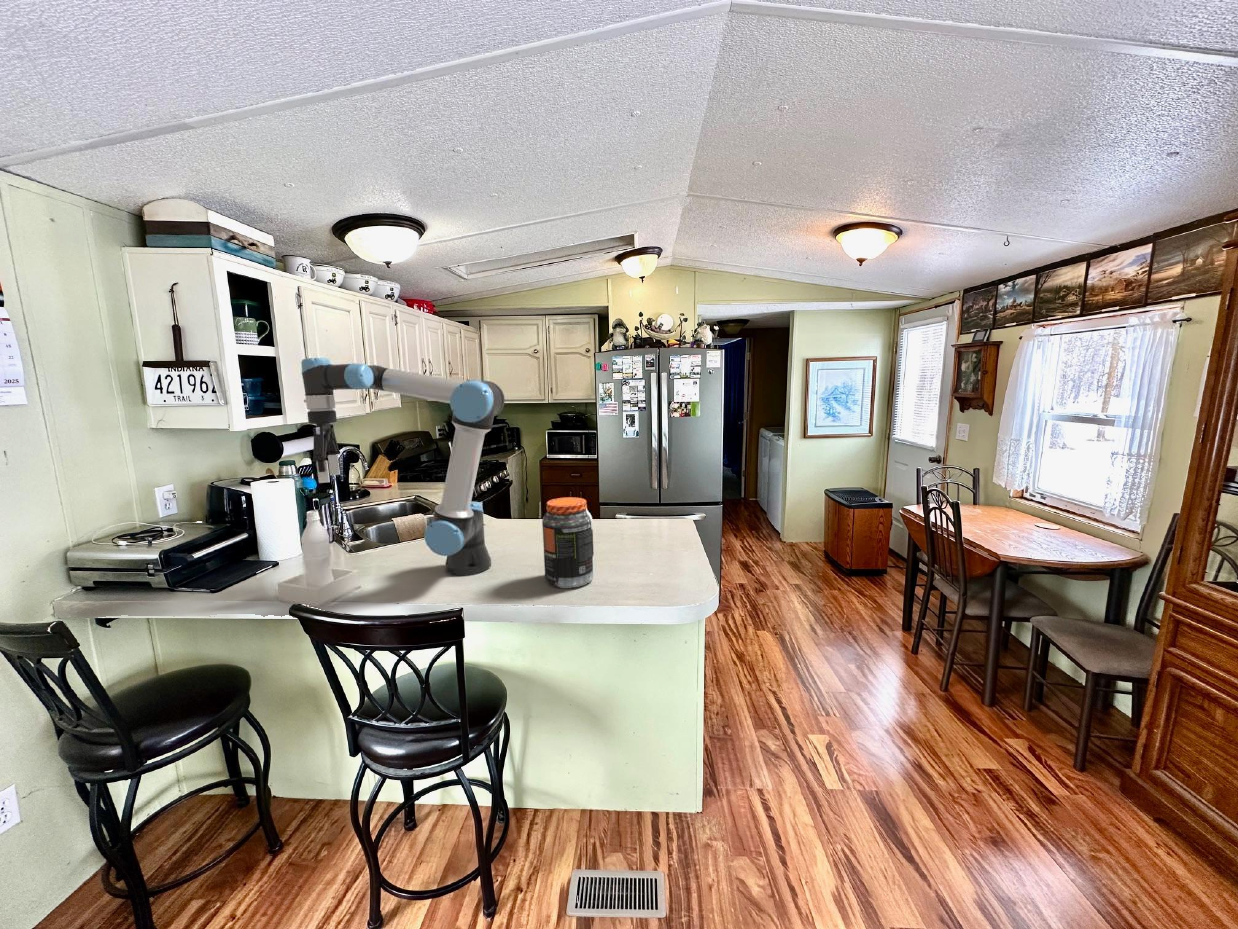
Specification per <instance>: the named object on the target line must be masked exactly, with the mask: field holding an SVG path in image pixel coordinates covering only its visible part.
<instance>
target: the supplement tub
mask: <svg viewBox="0 0 1238 929" xmlns="http://www.w3.org/2000/svg"><path fill="white" fill-rule="evenodd" d="M545 508H546V512H545V514H544V515H543V517H542V521H541V524H542V525H541V526H542V542H543V543H542V544H543V559H544V560H543V561H544V578H545V581H546V582H547V584H548V585H550V584H551V585H550V586H552V587H555V586H556V587H555V588H559V587H560V589H572V587H573V588H577V587H582V586H585V585H587V583H588V584H590V583H591V582H592V581H593V580H594V577H595V558H594V555H595V554H594V553H595V552H594V528H593V527H594V526H593V524H594V523H593V516H592V514H591V512H589V510H588V504H587V500H586V499H585V498H582V497H573V496H572V497H571V496H570V497H569V496H568V497H566V496H565V497H559V498H557V497H556V498H553V499H550V500H548V501H547V502H546V507H545Z"/></svg>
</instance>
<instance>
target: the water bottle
mask: <svg viewBox="0 0 1238 929" xmlns="http://www.w3.org/2000/svg"><path fill="white" fill-rule="evenodd" d="M320 519H321V517H320V514H319V511H318V510H309V511H307V512H306V519H305V521H306V525H305V526H306V527H305V528H304V531H303V532H302V535H301V537H300V538H301V540H300V542H301V548H302V555H303V558H302V559H303V560H304V563H305V570H306V572H307V578H306V586H307V587H314V588H317V587H320V586H322V585H324V584H327V583H329V582H331V581H333V580H334V578H333V575H332V572H331V567H332V566H331V548H330V547H331V546H330V536H329V532H328V531H327V529H326V528H325V527H324V526H323V525H322V523H321V520H320Z"/></svg>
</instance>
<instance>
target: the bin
mask: <svg viewBox="0 0 1238 929" xmlns="http://www.w3.org/2000/svg"><path fill="white" fill-rule="evenodd" d="M331 572H332V575H333V578H334V580H333V581H331V582H329V583H327V584H324V585H322V586H320V587H317V588H314V587H307V586H306V578H307V571H306V572H303V573H301V574H298V575H295V576H292V577H291V578H288V579H286V580H283V581H281V582H278V583H277V590H278V598H279V602H280V603H281V602H283V603H288V604H293V605H298V604H305V605H309V606H308V607H310V606H313V607H312V608H316V607H317V609H319V608H321V607H323V606H325V605H327V604H329V603H332V602H334V601H335V600H338V599H339V598H341V597H344V596H347V595H349V594H350V593H352V592H354V591H357V590H359V589H360V588H361V579H360V571H359V570H356V569H349V568H340V567H335V566H334V567H333V566H331Z"/></svg>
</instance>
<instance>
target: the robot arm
mask: <svg viewBox="0 0 1238 929" xmlns="http://www.w3.org/2000/svg"><path fill="white" fill-rule="evenodd" d="M301 377H302V381H303V382H302V383H303V388H304V393H305V394H304V395H305V399H304V400H303V402H304V403H305V406H306V409H307V410H309V411H307V412H306V413H307V421H308V423H309V424H311V425H314V424H315V425H316V426H315V427H312V431H313V432H312V433H313V451H312V452H313V457H312V462H316V469H317V470H316V471H317V477H318V478H317V479H318V483H319V484H323V483H330V482H331V481H330V476H339V475H341V470H340V463H339V455H341V450H340V449H339V445H338V442H337V437H336V434H335V428H334V424H333V423H336V422H337V421H338V419H337V411H336V410H335V409H336V400H335V394H334V391H338V390H342V391H343V390H357V391H358V390H375V391H381V392H389V393H394V394H399V395H403V396H404V395H405V396H408V397H409V396H410V397H415V398H420V399H424V400H430V401H434V402H436V401H437V402H441V403H445V404H449V405H450V409H451V411H452V418H451V423H452V424H453V425H454V427H455V431H454V435H453V441H452V444H451V446H452V447H451V450H450V456H449V462H448V468H447V470H446V471H447V472H446V477H445V482H444V487H443V492H442V497H441V502H440V503H439V504H437V505H436V506H435V507H434V511H433V517H432V522H430V523H429V524H428V526H427V527H426V529H425V531H424V542H425V544H426V546H427V547H428V548H429V550H430V551H432V552H433V553H434V554H436V555H438V556H443V557H446V559H445V560H446V561H445V564H444V567H445V572H446V573H447V574H449V573H450V574H449V575H453V576H471V575H470V574H472V575H474V574H473V573H477V574H479V572H480V573H483V572H485V571H484V570H486V571H487V570H489V569H490V568H491V567H492V558H491V556H490V555H489V554H490V553H489V551H488V549H487V546H486V542H485V541H486V540H485V526H484V525H485V524H484V509H483V505H482V503H481V502H478V501H472V499H473V494H474V489H475V483H476V479H477V474H478V469H479V464H480V459H481V456H482V450H483V445H484V441H485V435H486V434H487V433H488V432H490V431H491V430H492V428H493V423H494V417H496V416H497V415H498V414H500V413H501V412H502V411H503V408H504V406H505V394H504V392H503V390H502V388H501V386H499V385H498V384H496V383H495V382H493V381H489V380H477V379H472V380H471V379H467V380H465V381H460V380H454V379H447V378H444V377H443V378H441V377H438V376H432V375H427V374H421V373H415V372H410V371H405V370H399V369H394V368H388V367H384V366H382V365H374V364H373V365H368V364H366V363H342V364H341V363H340V364H333V363H331V361H330V359H329V358H326V357H325V358H324V357H310V358H308V357H307V358H303V359H302V360H301ZM327 453H328V455H327ZM327 459H328V460H327ZM489 567H490V568H489ZM482 571H483V572H482Z"/></svg>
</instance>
